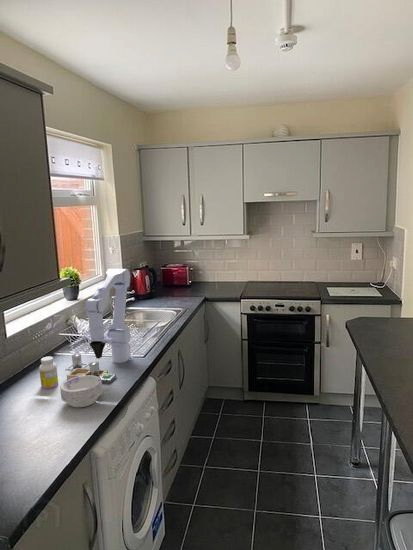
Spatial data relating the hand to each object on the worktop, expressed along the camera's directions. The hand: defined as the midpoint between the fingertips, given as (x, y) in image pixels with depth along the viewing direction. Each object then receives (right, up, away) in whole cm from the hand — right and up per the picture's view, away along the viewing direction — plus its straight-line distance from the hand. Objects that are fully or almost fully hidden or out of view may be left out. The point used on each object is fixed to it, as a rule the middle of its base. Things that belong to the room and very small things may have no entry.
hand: (99, 357), depth 182 cm
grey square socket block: (+4, -10, -2) cm, 11 cm away
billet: (-13, -7, +14) cm, 20 cm away
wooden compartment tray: (-6, -10, +3) cm, 12 cm away
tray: (-13, -8, +14) cm, 21 cm away
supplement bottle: (-19, -12, -5) cm, 23 cm away
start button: (+4, -11, -1) cm, 12 cm away
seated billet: (-2, -9, +2) cm, 9 cm away
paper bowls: (-2, -14, -18) cm, 23 cm away
